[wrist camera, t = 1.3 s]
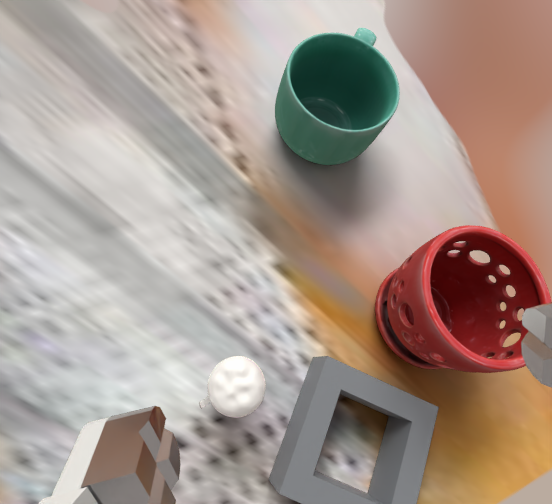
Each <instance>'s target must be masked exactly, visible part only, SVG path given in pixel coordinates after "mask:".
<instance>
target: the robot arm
mask: <svg viewBox="0 0 552 504" xmlns="http://www.w3.org/2000/svg"><path fill="white" fill-rule="evenodd" d="M522 325H523V326H524V327H525V328H526V329H527V330H528V333H527V334H526V336H525V337H524V338H523V340H522V341H521V348H522V356H523V359H524V361H525V364H526V366H527V368H528V369H529V370H530V372H531V373H532V375H533V376H534V377H535V378H536V379H537V380H538V381H539V382H540V383H541V384H544V385H546V386H549V387H552V302H550V303H546V304H542V305H538V306H535V307H531V308H527V309H526V310H525V312H524V313H523V317H522ZM165 420H166V418H165V416H164V414H163V412H162V410H161V408H160V407H157V406H153V407H149V408H144V409H140V410H136V411H132V412H128V413H123V414H119V415H115V416H111V417H109V418H104V419H100V420H96V421H92V422H88V423H87V424H86V425H85V426H84V427H83V428H82V429H81V432H80V434H79V436H78V438H77V440H76V443H75V445H74V447H73V449H72V451H71V454H70V456H69V458H68V460H67V462H66V465H65V467H64V469H63V471H62V474H61V476H60V478H59V480H58V482H57V485H56V487H55V489H54V491H53V493H52V496H51V497H47V498H43V499H42V500H41V501H40V502H39V503H38V504H175V503H176V500H175V498H174V496H173V494H172V492H171V489H172V488H173V487H174V485H175V484H176V482H177V481H178V480H179V473H180V453H179V448H178V444H177V441H176V439H175V436H174V434H173V433H172V432H170V431H168V430H167V429H165V428H164V425H165Z"/></svg>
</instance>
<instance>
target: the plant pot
mask: <svg viewBox="0 0 552 504" xmlns="http://www.w3.org/2000/svg"><path fill="white" fill-rule="evenodd" d="M459 241H466V242H464V243H455V242H459ZM451 250H459V251H460V252H458V253H449V251H451ZM473 250H480V251H484V252H486V253H487V254H488V255H489V257H490V262H488V263H480V262H477V261H475V260H474V259H472V258H471V256H470V254H469V253H470V252H471V251H473ZM499 265H505V266H506V267H508V269H509V270H510V274H509V275H507V274H504V273H503V272H502V271H501V270H500V268H499ZM489 275H492V276H494V277H495V278H496V283H493V282H491V281H490V280H489V277H488V276H489ZM507 285H511V286H512V287H513V288H514V289H515V291H516V294H515V296H514V297H510V296H508V294H507V292H506V286H507ZM501 302H505V303H506V310H505V311H502V310H501V309H500V304H501ZM550 302H551V297H550V294H549V291H548V288H547V285H546V283H545V280H544V278H543V276H542V274H541V272H540V270H539V269H538V267H537V265H536V264H535V263H534V261H533V260H532V258H531V257H530V256H529V255H528V254H527V252H526V251H524V250H523V249H522V247H521V246H519V245H518V244H517V243H516V242H514V241H513V240H512V239H510V238H508V237H507V236H506V235H504V234H502V233H500V232H498V231H495V230H493V229H490V228H487V227H482V226H471V225H467V226H459V227H455V228H452V229H449V230H447V231H445V232H443V233H442V234H440V235H438V236H436V237H435V238H433V239H431V240H430V241H428V242H427V243H425V244H424V245H423V246H421V247H420V248H419V249H417V250H416V251H415V252H414V253H413V254H412V255H411V256H410V257H408V258H407V259H406V260H405V262H404V263H403V264H402V265H401V266H400V268H398V269H396V270H394V271H393V272H391V273H390V274H389V275H388V276H387V277H386V278H385V280H384V281H383V282H382V284H381V286H380V288H379V290H378V293H377V297H376V303H375V314H376V320H377V324H378V327H379V330H380V333H381V335H382V337H383V339H384V340H385V342H386V343H387V345H388V346H389V347H390V348H391V350H392V351H393V352H394V353H395V354H396V355H398V356H399V357H400V358H401V359H403V360H404V361H406V362H408V363H409V364H412V365H414V366H416V367H419V368H424V369H440V368H447V369H454V370H460V371H465V372H481V373H492V372H503V371H510V370H515V369H519V368H522V367H524V366H526V364H525V361H524V359H523V356H522V348H521V341H522V340H523V338H524V337H525V336H526V334H527V333H528V330H527V329H526V328H525V327H524V326H523V325H522V320H521V321H519V320H518V318H517V313H518V311H519V309H521V308H523V309H524V312H525V310H526V309H527V308H531V307H535V306H538V305H542V304H546V303H550ZM503 320H505V321H506V324H505V326H504V328H502V329H500V327H499V326H500V323H501V321H503ZM517 332H518V333H521V337H520V339H519V340H518V341H517V342H516V343H515V344H513V345H511V346H509V347H502V346H503V343H504V341H505V340H506V338H507V337H508V336H510V335H511V334H513V333H517ZM488 357H492V358H490V359H489V358H488ZM507 357H509V358H507ZM505 358H506V359H505Z"/></svg>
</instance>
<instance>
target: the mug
mask: <svg viewBox="0 0 552 504" xmlns="http://www.w3.org/2000/svg"><path fill="white" fill-rule="evenodd" d="M375 41H376V36H375V35H374V33H373V32H371V31H370V30H368V29H365V28H359V29H358V30H357V32H356V34H355V36H351V35H347V34H342V33H323V34H318V35H314V36H312V37H309V38H307V39H306V40H304V41H303V42H301V43H300V44H299V45H298V46H297V47H296V48H295V49H294V50H293V52H292V54H291V55H290V57H289V60H288V62H287V65H286V68H285V70H284V73H283V76H282V79H281V83H280V86H279V90H278V93H277V98H276V104H275V118H276V124H277V127H278V130H279V133H280V135H281V137H282V138H283V140H284V141H285V143H286V144H287V145H288V146H289V147H290V148H291V150H293V151H294V152H295V153H296V154H297V155H299V156H300V157H302V158H304V159H306V160H308V161H310V162H313V163H317V164H323V165H336V164H341V163H345V162H348V161H350V160H352V159H354V158H355V157H357V156H358V155H360V154H361V153H362V152H363V151H364V150H366V149H367V147H368V146H369V145H370V144H371V143H372V142H373V141H374V140H375V138H376V137H377V136H378V135H379V133H380V132H381V131H382V129H383V128H384V127H385V126H386V124H387V123H388V121H389V120H390V119H391V117H392V116H393V114H394V112H395V111H396V108H397V106H398V102H399V94H400V92H399V83H398V80H397V77H396V74H395V72H394V70H393V68H392V66H391V65H390V63H389V62H388V61H387V59H386V58H385V57H384V56H383V55H382V54H381V53H380V52H379V51H378V50H377V49H375V48H374V47H373V45H374V43H375Z"/></svg>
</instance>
